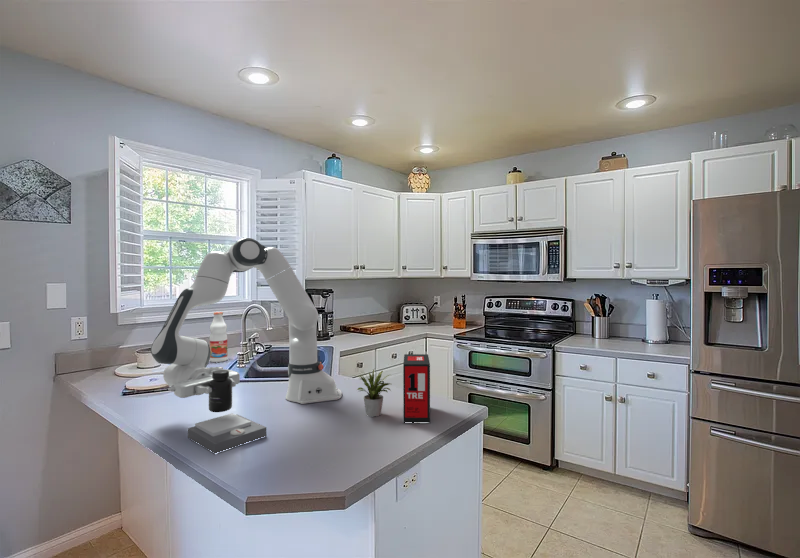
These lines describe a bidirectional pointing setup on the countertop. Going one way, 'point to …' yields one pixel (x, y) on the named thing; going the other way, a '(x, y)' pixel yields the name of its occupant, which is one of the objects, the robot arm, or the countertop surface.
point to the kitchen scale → (225, 432)
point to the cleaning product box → (416, 388)
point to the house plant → (373, 394)
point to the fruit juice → (218, 339)
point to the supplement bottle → (220, 391)
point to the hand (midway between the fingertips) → (222, 387)
